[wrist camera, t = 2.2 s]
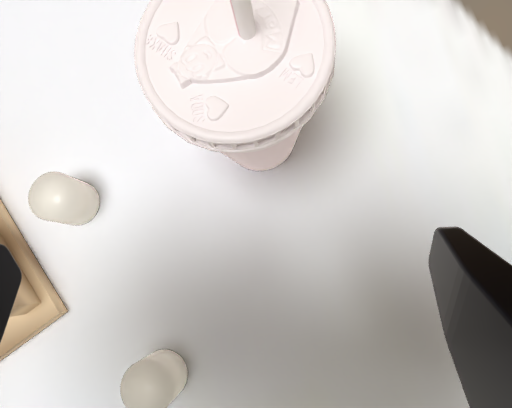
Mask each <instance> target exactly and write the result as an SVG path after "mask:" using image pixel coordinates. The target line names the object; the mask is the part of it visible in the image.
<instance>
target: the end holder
mask: <svg viewBox="0 0 512 408" xmlns="http://www.w3.org/2000/svg"><path fill="white" fill-rule="evenodd" d="M0 244H3V245H5V246H6V247H7V248H8V249H9V251H10V253H11V254H12V256H13V258H14V259H15V261H16V263H17V264H18V266H19V268H20V270H21V273H22V280H21V284H20V287H19V290H18V293H17V296H16V299H15V302H14V305H13V308H12V311H11V314H10V317H9V320H8V323H7V326H6V329H5V332H4V334H3V337H2V340H1V343H0V361H1V360H2V359H4V358H5V357H6V356H8V355H9V354H11V353H12V352H13V351H15V350H16V349H17V348H19V347H20V346H21V345H23V344H24V343H26V342H27V341H28V340H30V339H31V338H32V337H34V336H35V335H37V334H38V333H39V332H41V331H42V330H43V329H45V328H46V327H47V326H49V325H50V324H52V323H53V322H54V321H56V320H57V319H58V318H60V317H61V316H63V315H64V314H65V313H67V312H68V311H67V309H66V307H65V306H64V304H63V302H62V301H61V299H60V297H59V296H58V294H57V293H56V291H55V289H54V288H53V286H52V284H51V283H50V281H49V279H48V278H47V276H46V274H45V273H44V271H43V269H42V268H41V266H40V264H39V263H38V261H37V259H36V258H35V256H34V254H33V253H32V251H31V249H30V248H29V246H28V244H27V243H26V241H25V239H24V238H23V236H22V235H21V233H20V231H19V230H18V228H17V226H16V225H15V223H14V221H13V220H12V218H11V216H10V215H9V213H8V211H7V210H6V208H5V206H4V205H3V203H2V201H1V200H0Z"/></svg>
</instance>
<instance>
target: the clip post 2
mask: <svg viewBox="0 0 512 408" xmlns="http://www.w3.org/2000/svg"><path fill="white" fill-rule="evenodd" d="M187 376H188V372H187V367H186V364H185V362H184V360H183V359H182V357H181V356H180V355H179V354H177V353H176V352H174V351H172V350H167V349H162V350H157V351H155V352H153V353H151V354H150V355H148V356H146V357H145V358H143V359H141V360H140V361H138V362H136V363H135V364H133V365H132V366H131V367H129V368H128V370H127V371H126V372H125V374H124V376H123V378H122V381H121V386H120V392H121V397H122V400H123V403H124V404H125V406H126V407H127V408H166V407H167V406H168V405H169V404H170V403H171V402H172V401H173V400H174V399H175V398H176V397H177V396H178V394H179V393H180V392H181V391H182V390H183V388H184V387H185V385H186V382H187Z"/></svg>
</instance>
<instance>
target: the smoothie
mask: <svg viewBox="0 0 512 408" xmlns="http://www.w3.org/2000/svg"><path fill="white" fill-rule="evenodd" d="M335 49H336V34H335V27H334V22H333V18H332V15H331V12H330V9H329V7H328V5H327V3H326V1H325V0H151V1H150V2H149V4H148V6H147V8H146V9H145V11H144V13H143V16H142V18H141V20H140V23H139V26H138V30H137V34H136V39H135V48H134V59H135V68H136V74H137V77H138V81H139V84H140V86H141V89H142V91H143V93H144V95H145V97H146V99H147V100H148V102H149V103H150V105H151V106H152V108H153V110H154V111H155V113H156V114H157V115H158V116H159V118H160V119H161V120H162V121H163V123H164V124H165V125H166V126H167V127H168V128H169V129H170V130H171V131H173V132H174V133H176V134H177V135H178V136H180V137H181V138H183V139H184V140H185V141H187V142H188V143H191V144H194V145H197V146H199V147H202V148H205V149H208V150H211V151H218V152H221V153H222V154H224V155H225V156H227V157H228V158H230V159H232V160H233V161H235V162H236V163H238V164H239V165H241V166H242V167H244V168H246V169H249V170H254V171H266V170H270V169H273V168H275V167H277V166H279V165H280V164H282V163H283V162H284V161H285V160H286V159H287V158H288V156H289V155H290V153H291V152H292V149H293V147H294V145H295V143H296V140H297V138H298V136H299V133H300V131H301V129H302V126H303V125H304V124H305V123H307V122H308V121H309V120H310V118H311V117H312V116H313V114H314V113H315V112H316V110H317V109H318V108H319V106H320V105H321V103H322V102H323V101H324V99H325V96H326V94H327V91H328V89H329V86H330V83H331V81H332V78H333V75H334V64H335V53H336V50H335Z"/></svg>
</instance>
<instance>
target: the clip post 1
mask: <svg viewBox="0 0 512 408" xmlns="http://www.w3.org/2000/svg"><path fill="white" fill-rule="evenodd" d="M28 201H29V206H30V208H31V210H32V212H33V213H34V214H35V215H36V216H37V217H38V218H40V219H43V220H46V221H52V222H58V223H63V224H69V225H75V226H78V225H83V224H86V223H88V222H89V221H91V220H92V219H93V218H94V217H95V215H96V213H97V212H98V209H99V204H100V200H99V195H98V193H97V191H96V189H95V188H94V187H93V186H92V185H90V184H88V183H86V182H83V181H81V180H78V179H76V178H73V177H70V176H68V175H65V174H63V173H60V172H48V173H45V174H43V175H41V176H40V177H38V178H37V179H36V180H35V181H34V183H33V184H32V186H31V188H30V191H29V195H28Z"/></svg>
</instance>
